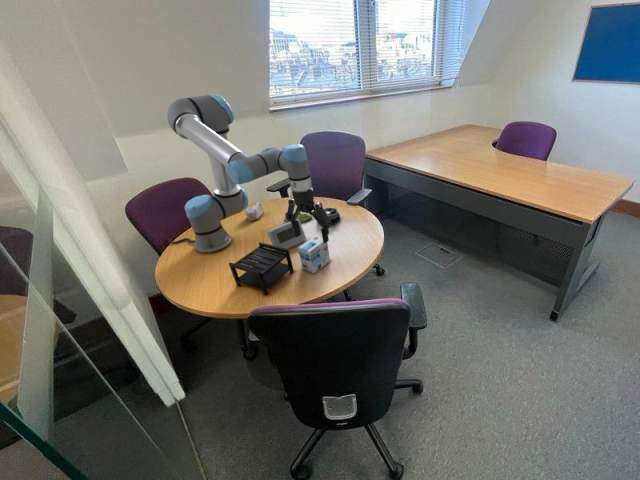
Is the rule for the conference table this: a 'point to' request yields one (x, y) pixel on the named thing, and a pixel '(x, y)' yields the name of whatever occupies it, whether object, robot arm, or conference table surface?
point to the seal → (301, 217)
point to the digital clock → (286, 236)
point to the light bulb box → (314, 254)
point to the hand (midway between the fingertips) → (312, 238)
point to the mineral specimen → (254, 212)
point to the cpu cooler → (332, 214)
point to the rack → (262, 267)
